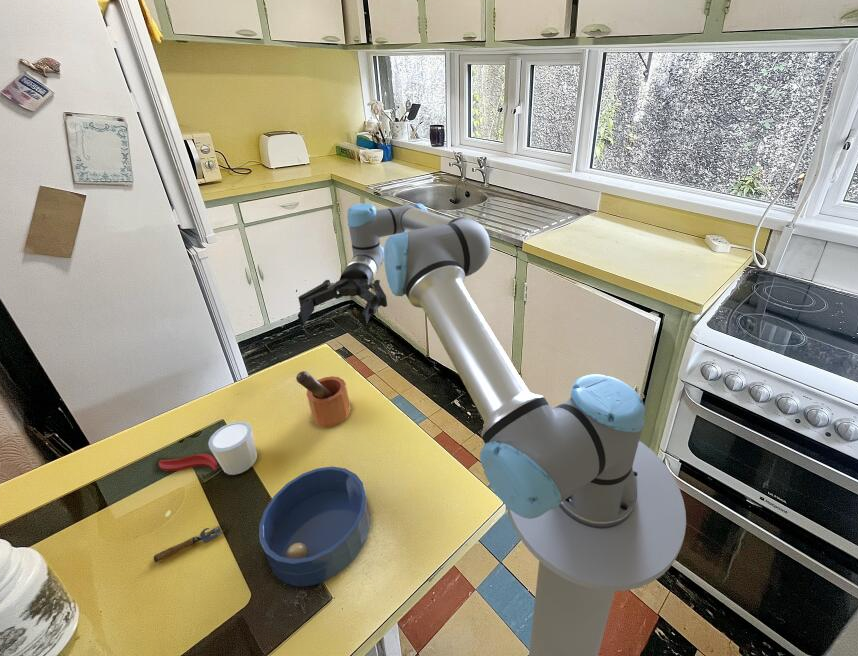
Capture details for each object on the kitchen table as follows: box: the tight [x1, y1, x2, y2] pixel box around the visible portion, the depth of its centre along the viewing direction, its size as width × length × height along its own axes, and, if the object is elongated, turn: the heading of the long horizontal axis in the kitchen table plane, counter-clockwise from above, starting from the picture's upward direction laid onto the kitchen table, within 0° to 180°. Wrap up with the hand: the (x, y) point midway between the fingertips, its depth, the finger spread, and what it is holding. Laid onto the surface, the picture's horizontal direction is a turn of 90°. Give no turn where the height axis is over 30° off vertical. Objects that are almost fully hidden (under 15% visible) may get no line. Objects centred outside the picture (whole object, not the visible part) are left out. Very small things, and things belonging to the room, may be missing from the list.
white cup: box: [207, 421, 258, 476], centre depth 76 cm, size 7×7×7 cm
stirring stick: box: [295, 370, 334, 399], centre depth 82 cm, size 2×2×20 cm
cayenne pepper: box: [158, 453, 218, 472], centre depth 77 cm, size 12×5×2 cm, turn 76°
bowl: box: [258, 466, 371, 587], centre depth 65 cm, size 15×15×6 cm
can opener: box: [153, 525, 225, 563], centre depth 64 cm, size 9×2×1 cm, turn 118°
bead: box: [285, 543, 307, 559], centre depth 61 cm, size 3×3×3 cm
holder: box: [306, 375, 351, 428], centre depth 87 cm, size 8×8×7 cm
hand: (332, 320), depth 89 cm, fingers open, 13 cm apart
